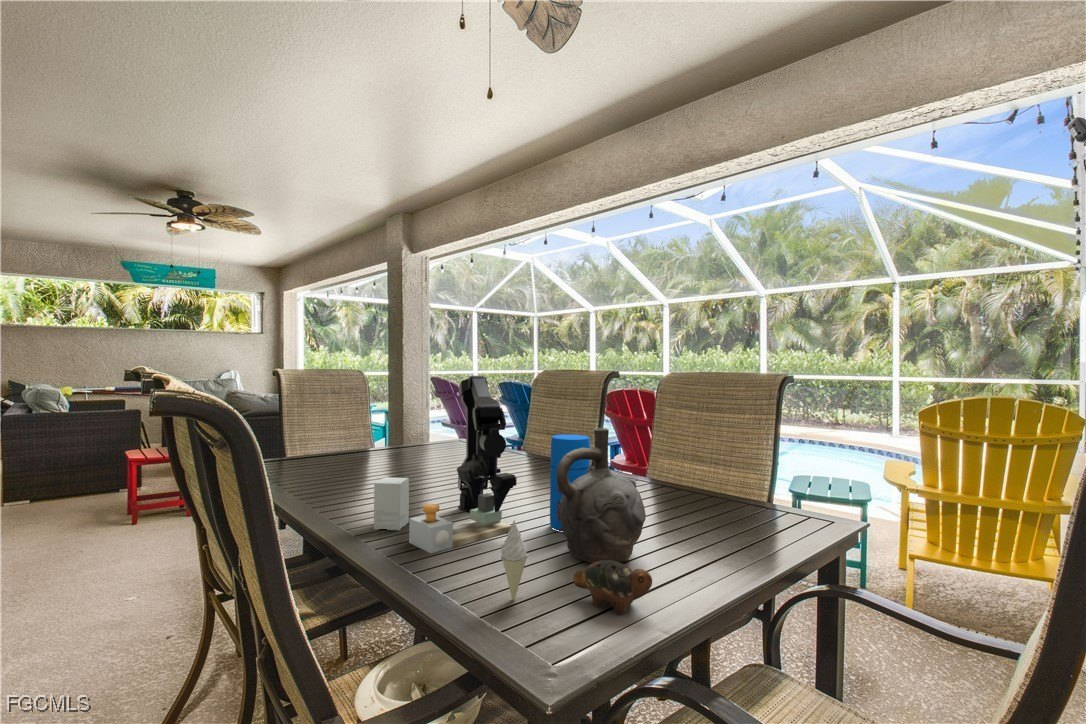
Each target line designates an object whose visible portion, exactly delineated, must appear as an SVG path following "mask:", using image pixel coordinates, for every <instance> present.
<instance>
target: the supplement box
mask: <svg viewBox="0 0 1086 724" xmlns="http://www.w3.org/2000/svg"><path fill="white" fill-rule="evenodd" d="M373 485H374V486H373V487H374V488H373V491H374V492H373V499H374V500H373V502H374V503H373V529H374V530H379V529H387V530H386V531H401V530H402V529H403V528H404V527H405V526H406V525H408V524H409V523H410V518H409V512H410V511H409V510H410V509H409V508H410V507H409V505H410V504H409V501H410V500H409V499H410V491H409V488H410V478H409V477H389V476H388V477H387V476H385V477H383V478H381V479H380V480H377V481H376V482H374V483H373ZM407 523H408V524H407ZM403 526H404V527H403ZM402 527H403V528H402ZM401 528H402V529H401Z"/></svg>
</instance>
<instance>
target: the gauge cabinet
mask: <svg viewBox="0 0 1086 724" xmlns="http://www.w3.org/2000/svg"><path fill="white" fill-rule="evenodd" d="M453 524H454V523H453V522H452V521H449V520H447V519H445V518H442V517H439V516H437V515H436V522H433V523H429V524H428V523H426V514H424V515H418V516H414V517H410V518H409V527H408V528H409V530H408V531H409V532H408V533H409V535H408V536H409V537H408V542H409V544H410V545H413V546H415V547H417V548H419V549H421V550H423V551H425V552H427V553H429V554H434V553H437V552H441V551H446V550H449V549H451V548H452V532H453V526H454V525H453Z"/></svg>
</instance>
